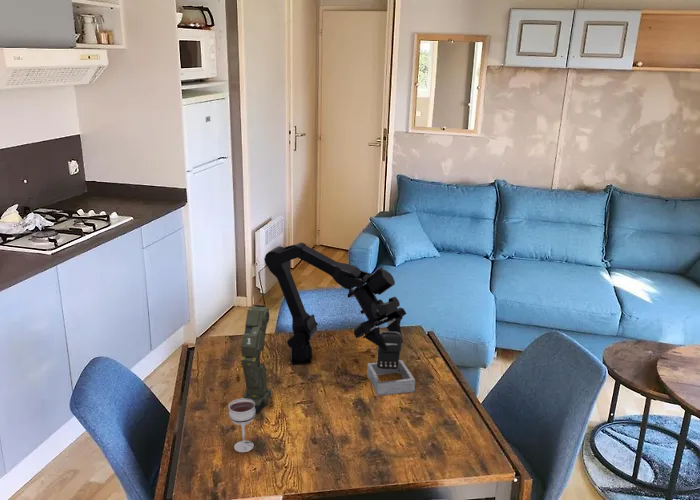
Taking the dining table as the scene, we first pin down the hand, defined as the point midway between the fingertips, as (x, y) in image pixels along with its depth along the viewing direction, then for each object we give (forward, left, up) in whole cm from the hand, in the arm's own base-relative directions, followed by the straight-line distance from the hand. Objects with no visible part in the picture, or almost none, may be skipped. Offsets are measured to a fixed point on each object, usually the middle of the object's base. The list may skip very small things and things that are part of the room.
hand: (394, 346), depth 179 cm
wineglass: (-47, -22, -13) cm, 53 cm away
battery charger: (-2, 0, -7) cm, 8 cm away
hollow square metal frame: (-1, +1, -13) cm, 13 cm away
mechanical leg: (-42, -1, -13) cm, 44 cm away
